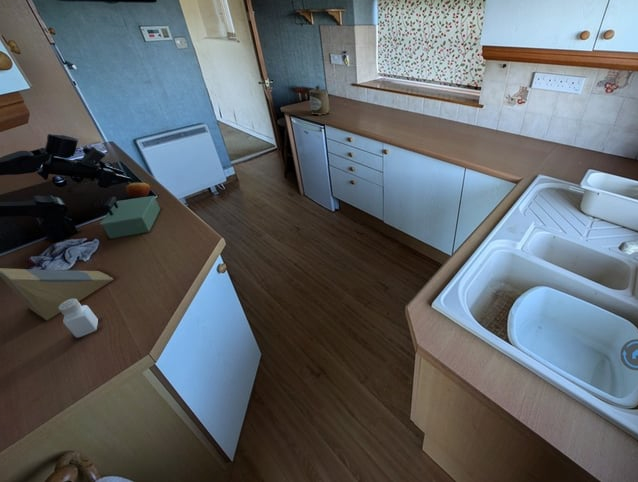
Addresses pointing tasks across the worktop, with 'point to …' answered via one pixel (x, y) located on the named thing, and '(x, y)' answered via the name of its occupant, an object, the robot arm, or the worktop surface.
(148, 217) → the green lidded box
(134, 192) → the fruit
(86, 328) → the white pill bottle
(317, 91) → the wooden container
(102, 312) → the worktop surface
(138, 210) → the bin lid
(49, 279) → the sandwich container
